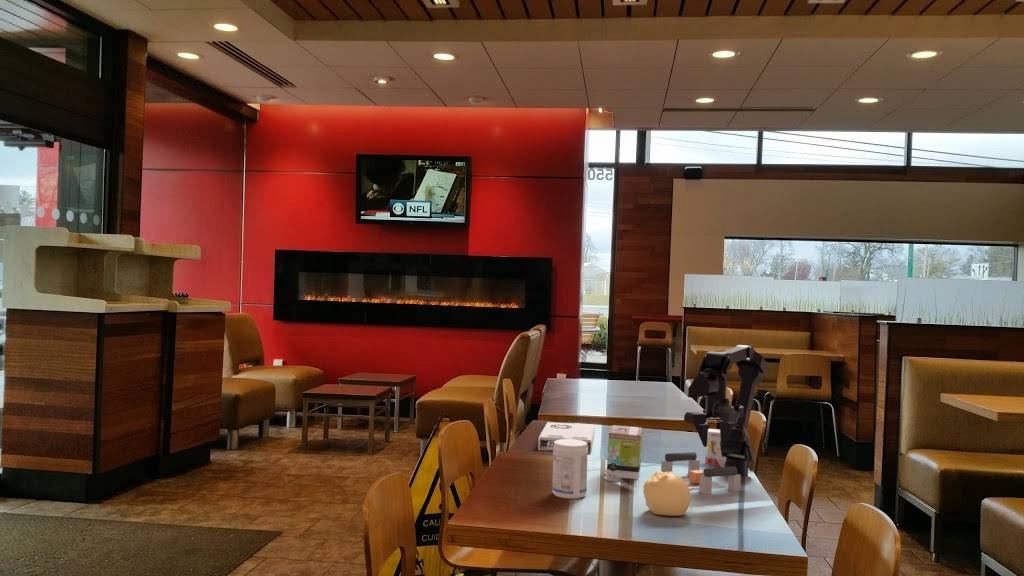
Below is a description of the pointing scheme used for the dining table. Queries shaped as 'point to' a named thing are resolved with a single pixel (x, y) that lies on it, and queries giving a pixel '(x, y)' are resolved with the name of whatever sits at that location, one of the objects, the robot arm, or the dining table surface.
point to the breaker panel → (696, 485)
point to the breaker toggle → (695, 476)
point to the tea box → (624, 453)
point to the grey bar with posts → (731, 472)
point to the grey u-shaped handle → (691, 456)
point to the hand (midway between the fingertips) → (714, 446)
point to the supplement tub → (570, 468)
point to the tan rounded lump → (666, 494)
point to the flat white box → (565, 434)
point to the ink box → (714, 449)
